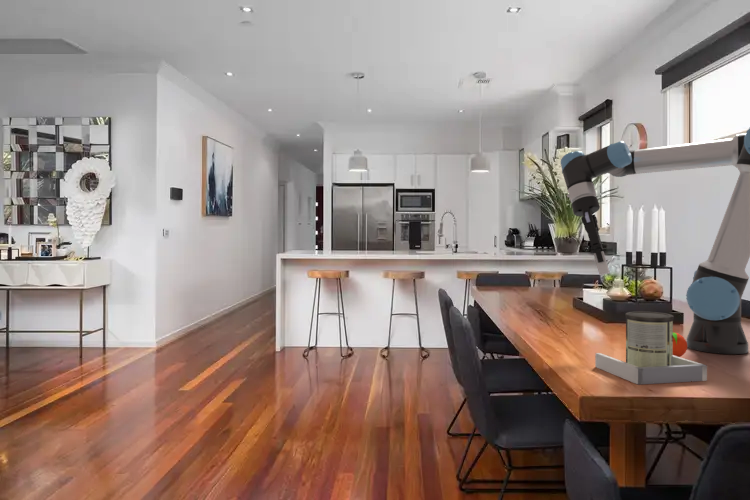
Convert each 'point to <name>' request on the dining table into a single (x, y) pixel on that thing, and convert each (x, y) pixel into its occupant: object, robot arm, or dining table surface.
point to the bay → (653, 370)
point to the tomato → (679, 345)
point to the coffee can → (649, 339)
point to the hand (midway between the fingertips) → (604, 273)
